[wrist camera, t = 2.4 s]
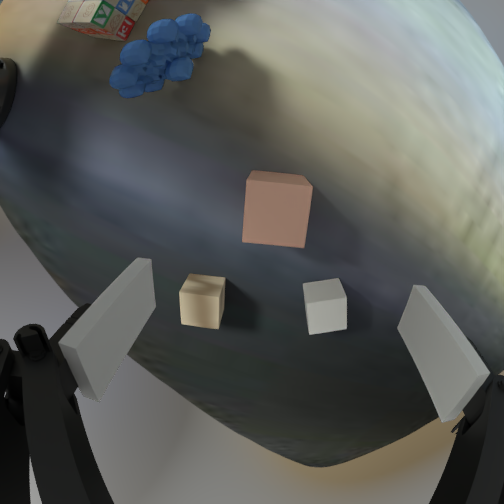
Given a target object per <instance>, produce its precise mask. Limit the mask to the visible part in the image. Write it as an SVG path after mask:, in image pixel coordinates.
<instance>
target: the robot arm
mask: <svg viewBox="0 0 504 504" xmlns="http://www.w3.org/2000/svg"><path fill="white" fill-rule="evenodd" d="M2 1H3V0H0V5H1V3H2ZM16 79H17V74H16V67H15V64H14V62H13V61H12V60H11V59H9V58H0V127H1V126H2V125H3V123H4V121H5V120H6V118H7V116H8V113H9V111H10V108H11V105H12V102H13V98H14V94H15V89H16ZM155 307H156V304H155V295H154V286H153V275H152V264H151V259H145V258H136V259H135V260H134V261H133V262H132V263H131V264H130V265H129V266H128V267H127V268H126V269H125V270H124V271H123V272H122V273H121V274H120V275H119V276H118V277H117V278H116V280H115V281H114V282H113V283H112V284H111V285H110V286H109V287H108V288H107V289H106V290H105V291H104V292H103V293H102V294H101V295H100V296H99V297H98V298H97V299H96V301H95V302H94V303H93V304H88V303H87V304H85V305H83V306H81V307H80V308H78V309H77V310H76V311H75V312H74V313H73V314H72V315H71V317H70V318H68V320H66V322H65V323H64V324H63V325H62V326H61V327H60V328H59V329H58V330H57V332H56V333H55V334H54V335H53V336H52V337H51V338H50V339H48V337H47V334H46V332H45V330H44V328H43V327H42V326H41V325H38V324H29V325H26V326H23V327H22V328H20V329H19V330H18V331H17V332H16V333H15V336H14V338H13V339H14V341H15V344H16V346H17V348H18V350H19V351H14V350H12V349H11V347H10V345H9V343H8V342H7V341H6V340H4V339H0V504H30V503H31V502H30V485H29V484H30V483H29V459H30V458H31V463H32V467H33V472H34V476H35V480H36V484H37V487H38V491H39V495H40V498H41V501H42V504H114V502H113V500H112V498H111V496H110V494H109V492H108V490H107V487H106V485H105V483H104V480H103V478H102V476H101V473H100V471H99V469H98V466H97V463H96V461H95V458H94V455H93V452H92V450H91V447H90V444H89V441H88V438H87V435H86V431H85V428H84V425H83V421H82V418H81V414H80V410H79V406H78V403H77V398H76V396H75V394H74V392H75V390H76V389H77V387H79V389H80V391H81V393H82V395H83V396H84V397H87V398H89V399H92V400H95V401H97V402H100V400H101V398H102V396H103V395H104V393H105V391H106V389H107V387H108V386H109V384H110V382H111V380H112V379H113V377H114V375H115V373H116V372H117V370H118V368H119V366H120V364H121V363H122V361H123V360H124V358H125V356H126V355H127V353H128V351H129V350H130V348H131V346H132V345H133V343H134V341H135V340H136V338H137V336H138V335H139V333H140V331H141V330H142V328H143V326H144V325H145V323H146V322H147V320H148V318H149V317H150V315H151V314H152V312H153V310H154V309H155ZM397 329H398V331H399V333H400V335H401V336H402V338H403V340H404V342H405V344H406V346H407V348H408V350H409V352H410V354H411V356H412V358H413V360H414V362H415V364H416V366H417V368H418V370H419V372H420V374H421V376H422V379H423V381H424V383H425V385H426V387H427V389H428V392H429V394H430V396H431V398H432V401H433V403H434V405H435V408H436V410H437V412H438V415H439V417H440V419H441V422H447V421H450V420H454V419H455V418H456V417H457V416H458V415H459V414H460V412H461V411H462V410H463V412H464V414H465V416H464V417H463V418H462V419H461V420H460V422H459V423H458V424H457V425H456V426H455V427H454V428H453V429H452V431H451V432H452V433H453V432H454V431H455V430H456V429H457V428H458V432H457V433H456V434H457V435H456V438H455V441H454V445H453V448H452V450H451V453H450V456H449V459H448V462H447V464H446V467H445V469H444V472H443V474H442V477H441V479H440V481H439V483H438V486H437V488H436V490H435V492H434V494H433V496H432V499H431V501H430V503H429V504H504V376H503V375H497V376H495V374H494V373H493V371H492V370H491V368H490V367H489V365H488V364H487V362H486V361H485V359H484V358H483V356H481V353H480V352H479V351H478V350H477V348H476V346H475V345H474V344H473V342H472V341H471V340H470V339H469V338H467V337H466V336H465V335H464V334H463V333H462V331H461V330H460V329H459V327H458V326H457V325H456V323H455V322H454V321H453V319H452V318H451V317H450V316H449V314H448V313H447V312H446V311H445V309H444V308H443V307H442V306H441V304H440V303H439V302H438V301H437V299H436V298H435V297H434V296H433V295H432V293H431V292H430V291H429V290H428V289H427V287H426V286H423V285H413V288H412V291H411V294H410V297H409V299H408V302H407V305H406V307H405V310H404V312H403V315H402V317H401V320H400V322H399V325H398V327H397ZM5 392H6V395H5V398H4V394H5Z"/></svg>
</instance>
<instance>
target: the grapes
mask: <svg viewBox="0 0 504 504" xmlns="http://www.w3.org/2000/svg"><path fill="white" fill-rule="evenodd" d="M202 22H203V21H202V19H201V17H200V16H199V15H197V14H190V13H189V14H185V15H181V16H179V17H177V18H176V19H175V21H174V20H172V19H162V20H158V21H156V22H154V23H152V24H151V25H150V27H149V29H148V31H147V39H148V41H146V40H135V41H132V42H129V43H127V44H126V45H125V46H124V47H123V49H122V51H121V53H120V61H121V63H122V64H121V65H118V66H116V67H115V68H114V69H113V71H112V73H111V75H110V85H111V86H112V88H115V89H119V94H120V95H121V97H124V98H133V97H137V96H140V95H142V94H143V92H154V91H157V90H161V89H162V86H163V84H164V80H165V79H168V80H171V81H182V80H186V79H190V77H191V74H192V71H193V65H194V64H193V62H192V60H191V59H194V58H198V57H201V55H202V52H203V47H204V45H203V42H207V41H208V39H209V37H210V32H211V29H210V26H209V25H207V24H206V23H202Z"/></svg>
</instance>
